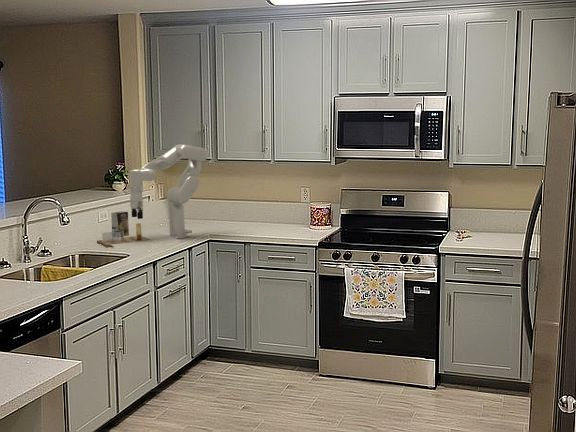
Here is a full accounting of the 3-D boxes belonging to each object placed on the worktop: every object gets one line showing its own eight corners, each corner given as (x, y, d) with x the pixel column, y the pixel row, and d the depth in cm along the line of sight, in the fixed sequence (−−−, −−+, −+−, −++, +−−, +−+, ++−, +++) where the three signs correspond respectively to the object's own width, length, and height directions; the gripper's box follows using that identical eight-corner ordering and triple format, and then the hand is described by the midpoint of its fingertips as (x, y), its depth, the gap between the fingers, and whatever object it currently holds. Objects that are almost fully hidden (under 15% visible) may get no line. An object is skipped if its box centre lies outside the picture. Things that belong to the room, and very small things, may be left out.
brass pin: (140, 239, 447) (139, 223, 446) (142, 239, 445) (141, 223, 444) (136, 239, 446) (135, 223, 444) (137, 240, 443) (137, 224, 442)
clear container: (118, 238, 452) (117, 228, 451) (125, 241, 441) (124, 231, 441) (97, 240, 446) (97, 230, 445) (104, 243, 435) (104, 233, 434)
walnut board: (140, 238, 461) (140, 235, 460) (151, 242, 445) (151, 239, 444) (96, 242, 446) (96, 240, 446) (106, 247, 430) (106, 245, 430)
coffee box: (119, 238, 460) (118, 213, 457) (112, 238, 463) (110, 212, 461) (129, 236, 467) (128, 211, 465) (122, 235, 471) (120, 211, 468)
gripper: (125, 189, 446) (126, 216, 448) (135, 191, 432) (136, 219, 434) (137, 188, 450) (138, 215, 452) (147, 190, 436) (148, 219, 438)
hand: (137, 217), depth 443 cm, fingers open, 9 cm apart
